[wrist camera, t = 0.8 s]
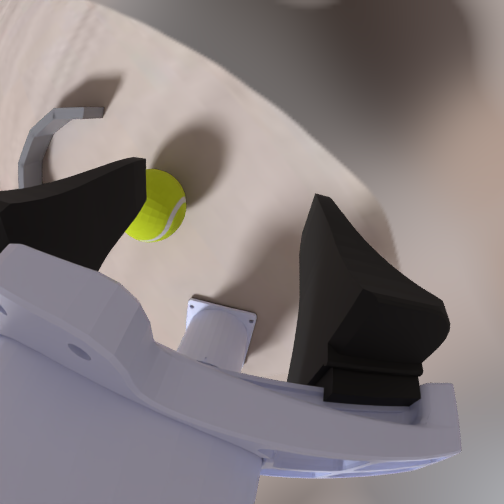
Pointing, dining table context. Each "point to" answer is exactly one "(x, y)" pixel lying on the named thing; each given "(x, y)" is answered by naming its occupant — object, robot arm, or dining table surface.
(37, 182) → the catch ring
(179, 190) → the tennis ball
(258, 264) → the dining table surface
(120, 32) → the dining table surface
